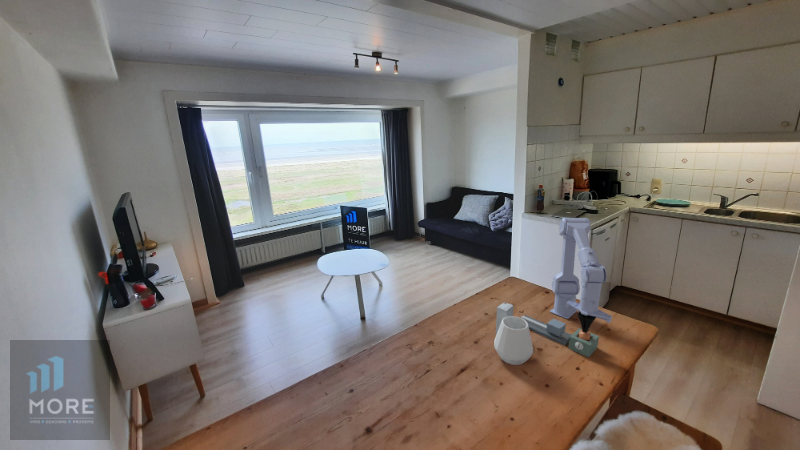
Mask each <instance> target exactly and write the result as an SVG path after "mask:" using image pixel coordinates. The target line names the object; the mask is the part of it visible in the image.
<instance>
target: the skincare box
mask: <svg viewBox="0 0 800 450" xmlns="http://www.w3.org/2000/svg"><path fill="white" fill-rule="evenodd" d="M508 316H514V304H511V303H508V302H505V301H504V302H502V303H501V304H500V305H498V306H497V307H496V320H495V323H496V324H495V335H497V332H498V330H499V327H500V324H501V322H502V320H503V318H505V317H508Z"/></svg>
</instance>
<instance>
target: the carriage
mask: <svg viewBox="0 0 800 450" xmlns="http://www.w3.org/2000/svg"><path fill="white" fill-rule="evenodd" d="M546 324H547V329H546V330H547V332H549V333H552V334H554V335H556V336H558V337H560V336H561V334H562V333H564V332H566V325H567V323H566V322H563V321H561V320H558V319H555V318H552V319H550V321H549V320H548V322H547V323H546Z"/></svg>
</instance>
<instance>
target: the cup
mask: <svg viewBox="0 0 800 450" xmlns="http://www.w3.org/2000/svg"><path fill="white" fill-rule="evenodd" d="M493 344H494V345H493V347H494V349H495V351H496V353H497V355H498V356H499V358H500V359H501V360H502V361H503V362H505V363H506V364H508V365H513V366H517V365H518V366H520V365H523V364H524V363H526V362H527V361H528V360H529V359H530V358H531V356H532V355H533V353H534V348H533V347H534V346H533V342H532V337H531V330H529V326H528V323H527V322H526V321H525V320H524V319H522V318H521V317H519V316H514V315H513V316H508V317H505V318H503V320H502V322H501V324H500V327H499V330H498V332H497V334H495V338H494V341H493Z"/></svg>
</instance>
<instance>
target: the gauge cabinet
mask: <svg viewBox="0 0 800 450" xmlns="http://www.w3.org/2000/svg"><path fill="white" fill-rule="evenodd" d="M580 330H582V328H580V327H579V328H577V329H576V331H574V332H573V333H572V334H571V336H570V340H569V342H568V349H569V350H571V351H573V352H576V353H578V354H580V355H582V356H583V357H586V358H590V357H591V356H592V354H594V352H595V351H596V350H597V349H598V348H599V347H598V345H599V339H600V335H597V334H594V333H593V332H590V334H591V335H590V341H589V342H588V341H586V340H583V339H581V338H579V331H580Z"/></svg>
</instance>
